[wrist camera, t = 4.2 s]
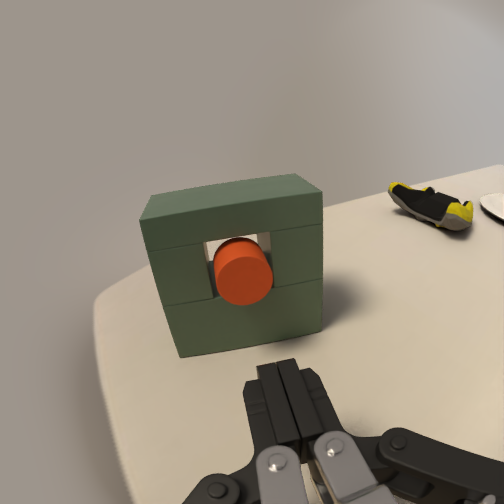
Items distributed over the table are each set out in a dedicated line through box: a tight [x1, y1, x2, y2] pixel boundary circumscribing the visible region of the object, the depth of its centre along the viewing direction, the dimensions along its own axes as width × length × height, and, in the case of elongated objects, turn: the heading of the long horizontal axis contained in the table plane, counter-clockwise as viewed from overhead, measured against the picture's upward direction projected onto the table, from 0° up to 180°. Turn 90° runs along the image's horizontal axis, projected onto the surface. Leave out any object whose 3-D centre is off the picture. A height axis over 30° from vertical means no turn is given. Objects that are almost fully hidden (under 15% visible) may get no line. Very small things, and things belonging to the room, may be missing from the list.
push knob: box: [213, 237, 273, 305], centre depth 21 cm, size 3×4×4 cm
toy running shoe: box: [388, 182, 473, 231], centre depth 42 cm, size 15×6×10 cm
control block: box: [139, 174, 323, 358], centre depth 25 cm, size 6×12×12 cm, turn 100°
